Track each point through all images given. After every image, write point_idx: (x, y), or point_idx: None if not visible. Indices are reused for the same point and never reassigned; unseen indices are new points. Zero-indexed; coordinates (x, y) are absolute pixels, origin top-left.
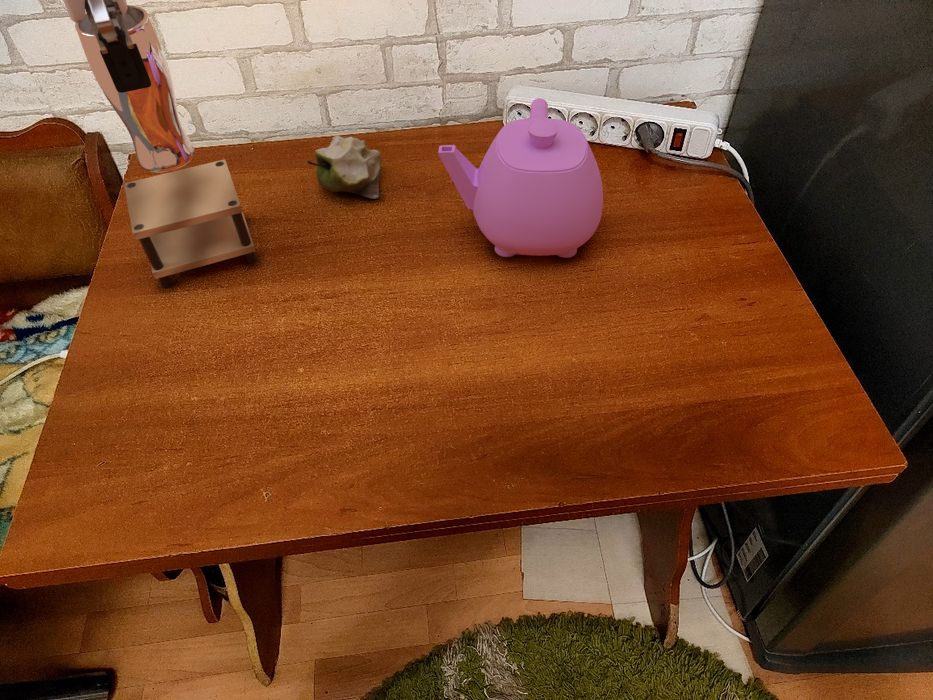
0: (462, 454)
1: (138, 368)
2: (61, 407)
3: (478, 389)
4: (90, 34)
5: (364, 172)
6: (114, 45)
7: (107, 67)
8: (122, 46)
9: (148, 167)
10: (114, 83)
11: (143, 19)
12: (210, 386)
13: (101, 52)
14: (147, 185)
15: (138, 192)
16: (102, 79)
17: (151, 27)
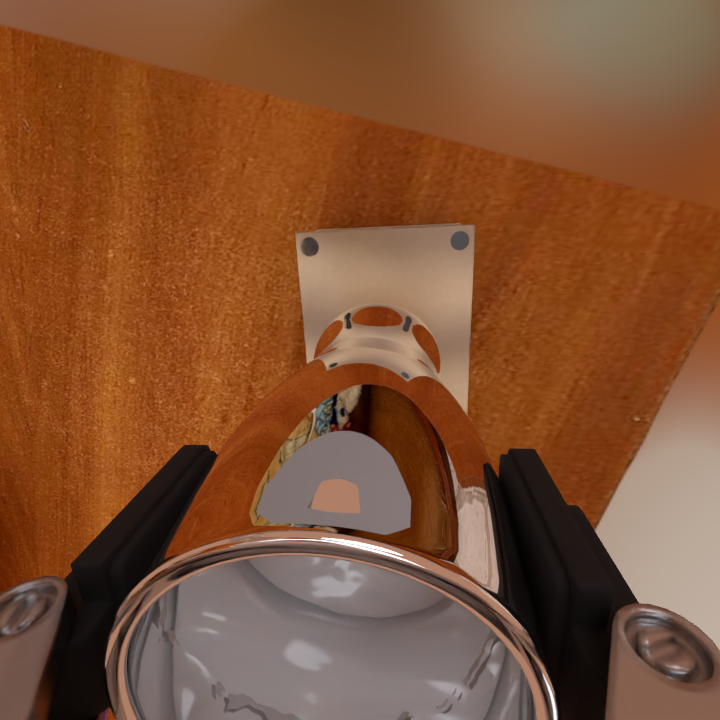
0: (7, 487)
1: (175, 183)
2: (124, 63)
3: (77, 525)
4: (132, 608)
5: None
6: None
7: (129, 508)
8: None
9: (326, 328)
10: (171, 463)
11: None
12: (126, 275)
13: (73, 569)
14: (443, 273)
15: (427, 253)
16: (249, 415)
17: None
